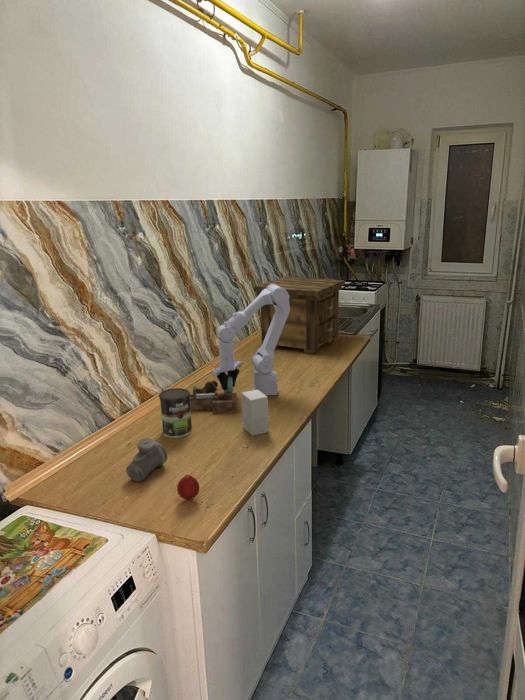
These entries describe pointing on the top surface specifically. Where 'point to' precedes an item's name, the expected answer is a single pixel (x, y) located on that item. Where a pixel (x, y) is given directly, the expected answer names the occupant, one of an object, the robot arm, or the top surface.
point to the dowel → (229, 385)
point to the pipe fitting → (146, 459)
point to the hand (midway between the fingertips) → (228, 388)
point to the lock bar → (201, 396)
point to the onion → (188, 487)
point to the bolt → (207, 388)
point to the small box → (255, 412)
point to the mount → (216, 403)
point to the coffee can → (175, 412)
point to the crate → (305, 312)
